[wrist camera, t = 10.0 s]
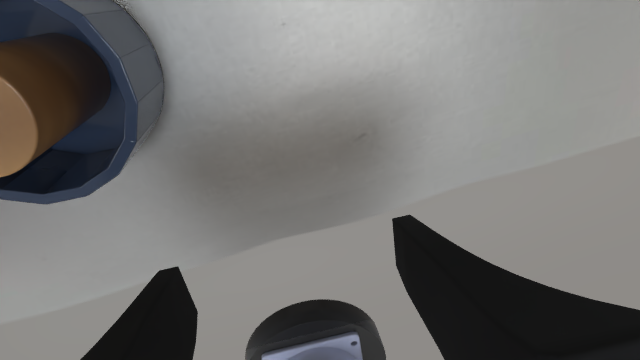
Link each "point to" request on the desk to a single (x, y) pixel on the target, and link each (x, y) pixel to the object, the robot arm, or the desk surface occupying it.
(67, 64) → the brown cylinder
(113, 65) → the cup
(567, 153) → the desk surface
